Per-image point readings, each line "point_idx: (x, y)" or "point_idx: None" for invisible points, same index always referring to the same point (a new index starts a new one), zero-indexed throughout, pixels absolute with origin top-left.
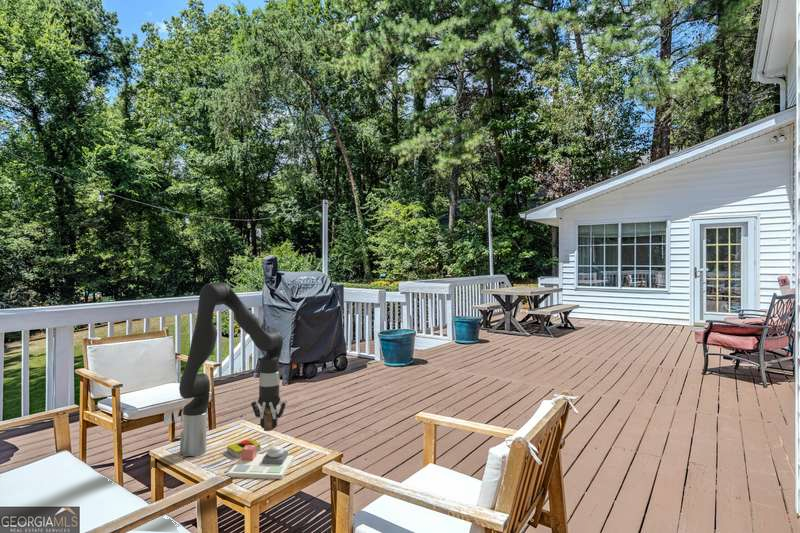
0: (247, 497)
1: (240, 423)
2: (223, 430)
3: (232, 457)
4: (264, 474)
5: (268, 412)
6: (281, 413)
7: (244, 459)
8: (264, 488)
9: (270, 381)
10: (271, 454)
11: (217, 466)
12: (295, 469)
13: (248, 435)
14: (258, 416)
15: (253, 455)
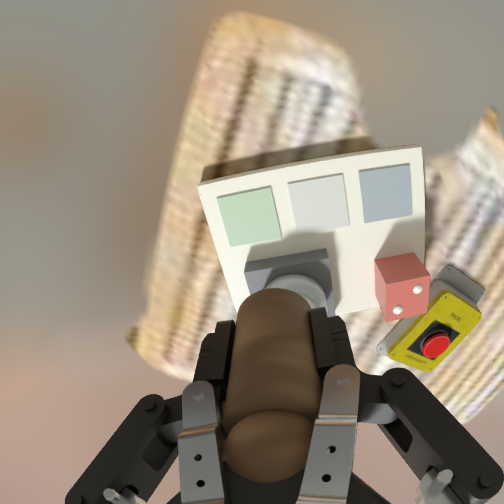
0: (250, 21)
1: (465, 419)
2: (496, 385)
3: (451, 277)
4: (270, 169)
5: (251, 432)
6: (121, 426)
7: (405, 255)
8: (224, 95)
9: None
10: (295, 281)
11: (475, 210)
12: (196, 259)
13: (439, 391)
14: (380, 380)
15: (378, 276)
